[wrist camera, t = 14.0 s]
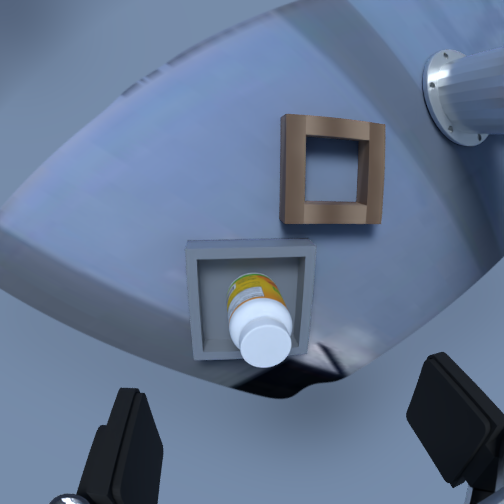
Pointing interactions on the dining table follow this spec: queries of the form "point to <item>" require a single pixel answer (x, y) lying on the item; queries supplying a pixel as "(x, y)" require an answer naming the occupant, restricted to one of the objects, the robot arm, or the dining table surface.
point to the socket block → (295, 161)
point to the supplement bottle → (259, 320)
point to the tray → (230, 268)
